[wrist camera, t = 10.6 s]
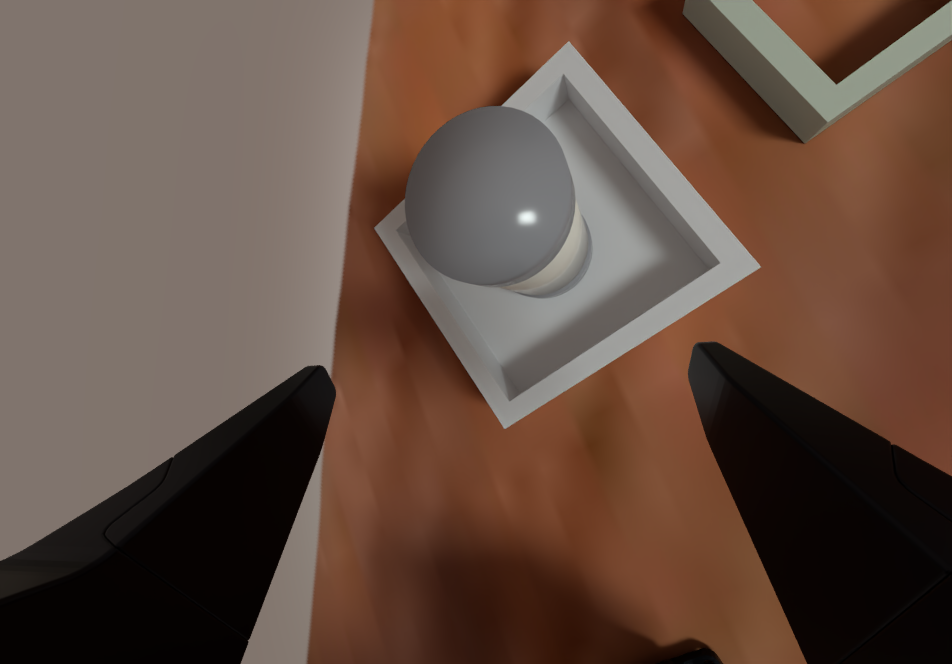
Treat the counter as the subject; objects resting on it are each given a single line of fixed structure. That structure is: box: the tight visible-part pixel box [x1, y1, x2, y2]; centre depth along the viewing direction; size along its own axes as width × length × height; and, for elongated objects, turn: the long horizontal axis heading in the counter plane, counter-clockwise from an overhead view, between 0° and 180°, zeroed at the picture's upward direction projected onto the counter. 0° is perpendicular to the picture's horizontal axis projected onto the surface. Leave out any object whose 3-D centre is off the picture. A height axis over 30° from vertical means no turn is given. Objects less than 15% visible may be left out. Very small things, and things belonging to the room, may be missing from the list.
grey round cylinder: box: [405, 106, 593, 299], centre depth 16 cm, size 5×5×10 cm
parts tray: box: [374, 41, 761, 429], centre depth 20 cm, size 13×13×3 cm
